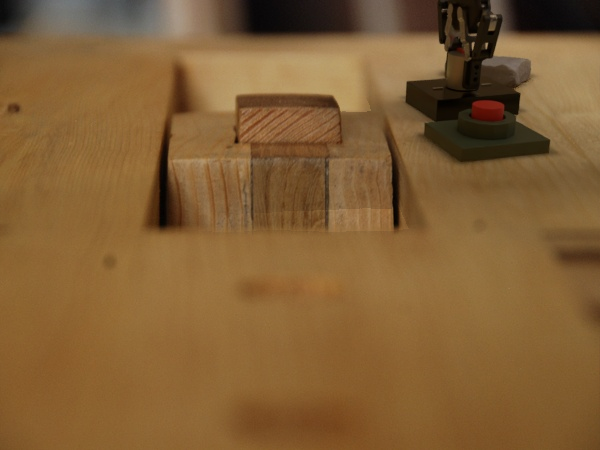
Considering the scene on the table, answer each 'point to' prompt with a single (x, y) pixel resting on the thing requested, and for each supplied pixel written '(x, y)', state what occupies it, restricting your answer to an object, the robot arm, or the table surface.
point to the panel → (457, 97)
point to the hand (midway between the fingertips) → (461, 83)
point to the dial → (456, 70)
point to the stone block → (506, 70)
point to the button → (487, 110)
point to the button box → (485, 137)
